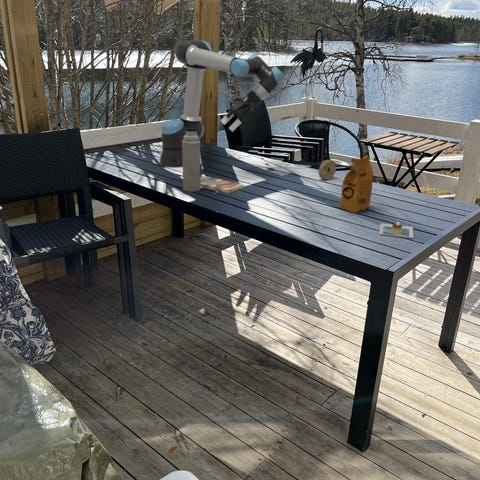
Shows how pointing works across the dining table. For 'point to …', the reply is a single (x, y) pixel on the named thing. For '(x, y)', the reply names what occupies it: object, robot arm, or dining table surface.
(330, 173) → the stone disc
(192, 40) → the robot arm
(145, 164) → the dining table surface
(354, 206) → the coffee package
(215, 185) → the board
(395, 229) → the dessert
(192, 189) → the thermos bottle
